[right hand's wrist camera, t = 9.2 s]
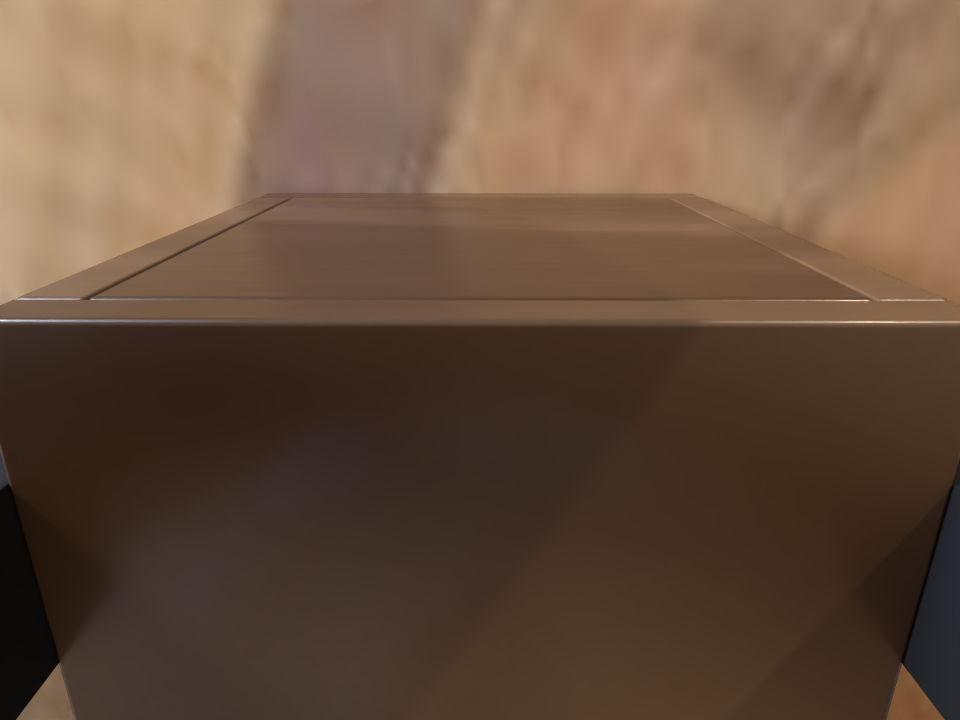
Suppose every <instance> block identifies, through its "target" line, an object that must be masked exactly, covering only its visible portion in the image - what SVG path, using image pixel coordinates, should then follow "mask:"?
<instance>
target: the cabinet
mask: <svg viewBox="0 0 960 720" xmlns="http://www.w3.org/2000/svg"><path fill="white" fill-rule="evenodd" d="M0 453H1V457H2V460H3V464H4V468H5V471H6V475H7V478H8V482H9V486H10V489H11V493H12V496H13V500H14V503H15V507H16V511H17V514H18V518H19V521H20V525H21V528H22V532H23V536H24V539H25V543H26V546H27V550H28V553H29V557H30V561H31V564H32V568H33V571H34V575H35V578H36V582H37V586H38V589H39V593H40V596H41V600H42V603H43V607H44V611H45V614H46V618H47V621H48V625H49V628H50V632H51V636H52V639H53V643H54V646H55V650H56V654H57V657H58V661H59V664H60V668H61V671H62V675H63V679H64V682H65V686H66V689H67V693H68V696H69V700H70V704H71V707H72V711H73V714H74V718H75V720H886V718H887V714H888V711H889V707H890V704H891V700H892V697H893V693H894V690H895V686H896V683H897V679H898V675H899V672H900V668H901V665H902V661H903V658H904V654H905V651H906V647H907V644H908V640H909V637H910V633H911V629H912V626H913V622H914V619H915V615H916V612H917V608H918V605H919V601H920V598H921V594H922V591H923V587H924V584H925V580H926V576H927V573H928V569H929V566H930V562H931V559H932V555H933V552H934V548H935V545H936V541H937V538H938V534H939V530H940V527H941V523H942V520H943V516H944V513H945V509H946V506H947V502H948V499H949V495H950V492H951V488H952V485H953V481H954V477H955V474H956V470H957V467H958V463H959V460H960V306H959V305H956V304H954V303H952V302H949V301H947V300H946V299H944V298H942V297H939V296H937V295H935V294H932V293H930V292H927V291H925V290H923V289H920V288H918V287H915V286H913V285H911V284H908V283H906V282H903V281H901V280H899V279H896V278H894V277H891V276H889V275H887V274H884V273H882V272H879V271H877V270H875V269H872V268H870V267H867V266H865V265H863V264H860V263H858V262H855V261H853V260H851V259H848V258H846V257H843V256H841V255H839V254H836V253H834V252H831V251H829V250H827V249H824V248H822V247H819V246H817V245H815V244H812V243H810V242H807V241H805V240H803V239H800V238H798V237H795V236H793V235H790V234H788V233H786V232H783V231H781V230H778V229H776V228H774V227H771V226H769V225H766V224H764V223H762V222H759V221H757V220H754V219H752V218H750V217H747V216H745V215H742V214H740V213H738V212H735V211H733V210H730V209H728V208H726V207H723V206H721V205H718V204H716V203H714V202H711V201H709V200H706V199H704V198H701V197H699V196H696V195H694V194H267V195H264V196H262V197H260V198H257V199H255V200H252V201H250V202H247V203H245V204H243V205H240V206H238V207H235V208H233V209H230V210H228V211H226V212H223V213H221V214H218V215H216V216H214V217H211V218H209V219H206V220H204V221H202V222H199V223H197V224H194V225H192V226H190V227H187V228H185V229H182V230H180V231H177V232H175V233H173V234H170V235H168V236H165V237H163V238H161V239H158V240H156V241H153V242H151V243H149V244H146V245H144V246H141V247H139V248H137V249H134V250H132V251H129V252H127V253H124V254H122V255H120V256H117V257H115V258H112V259H110V260H108V261H105V262H103V263H100V264H98V265H96V266H93V267H91V268H88V269H86V270H84V271H81V272H79V273H76V274H74V275H71V276H69V277H67V278H64V279H62V280H59V281H57V282H55V283H52V284H50V285H47V286H45V287H43V288H40V289H38V290H35V291H33V292H31V293H28V294H26V295H23V296H21V297H19V298H17V299H16V300H12V301H10V302H8V303H5V304H3V305H0Z"/></svg>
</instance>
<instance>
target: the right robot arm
mask: <svg viewBox="0 0 960 720" xmlns="http://www.w3.org/2000/svg"><path fill="white" fill-rule="evenodd" d="M58 663H59V661H58V657H57V654H56V650H55V646H54V643H53V639H52V636H51V632H50V628H49V625H48V621H47V618H46V614H45V611H44V607H43V603H42V600H41V596H40V593H39V589H38V586H37V582H36V578H35V575H34V571H33V568H32V564H31V561H30V557H29V553H28V550H27V546H26V543H25V539H24V536H23V532H22V528H21V525H20V521H19V518H18V514H17V511H16V507H15V503H14V500H13V496H12V493H11V489H10V486H9V482H8V478H7V475H6V471H5V468H4V464H3V460H2V457H1V453H0V720H16V719H17V717H18V716H19V715H20V713H21V712H22V711H23V710H24V708H25V707H26V706H27V704H28V703H29V702H30V700H31V699H32V698H33V696H34V695H35V694H36V692H37V691H38V690H39V688H40V687H41V686H42V684H43V683H44V682H45V680H46V679H47V678H48V677H49V675H50V674H51V673H52V671H53V670H54V669H55V667H56V666H57V665H58ZM902 664H903V665H904V666H905V668H906V669H907V670H908V672H909V673H910V674H911V676H912V677H913V678H914V679H915V681H916V682H917V683H918V685H919V686H920V687H921V689H922V690H923V691H924V693H925V694H926V695H927V697H928V698H929V699H930V701H931V702H932V703H933V705H934V706H935V707H936V709H937V710H938V711H939V712H940V714H941V715H942V716H943V718H944V719H945V720H960V460H959V463H958V467H957V470H956V474H955V477H954V481H953V485H952V488H951V492H950V495H949V499H948V502H947V506H946V509H945V513H944V516H943V520H942V523H941V527H940V530H939V534H938V538H937V541H936V545H935V548H934V552H933V555H932V559H931V562H930V566H929V569H928V573H927V576H926V580H925V584H924V587H923V591H922V594H921V598H920V601H919V605H918V608H917V612H916V615H915V619H914V622H913V626H912V629H911V633H910V637H909V640H908V644H907V647H906V651H905V654H904V658H903V661H902Z"/></svg>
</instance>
